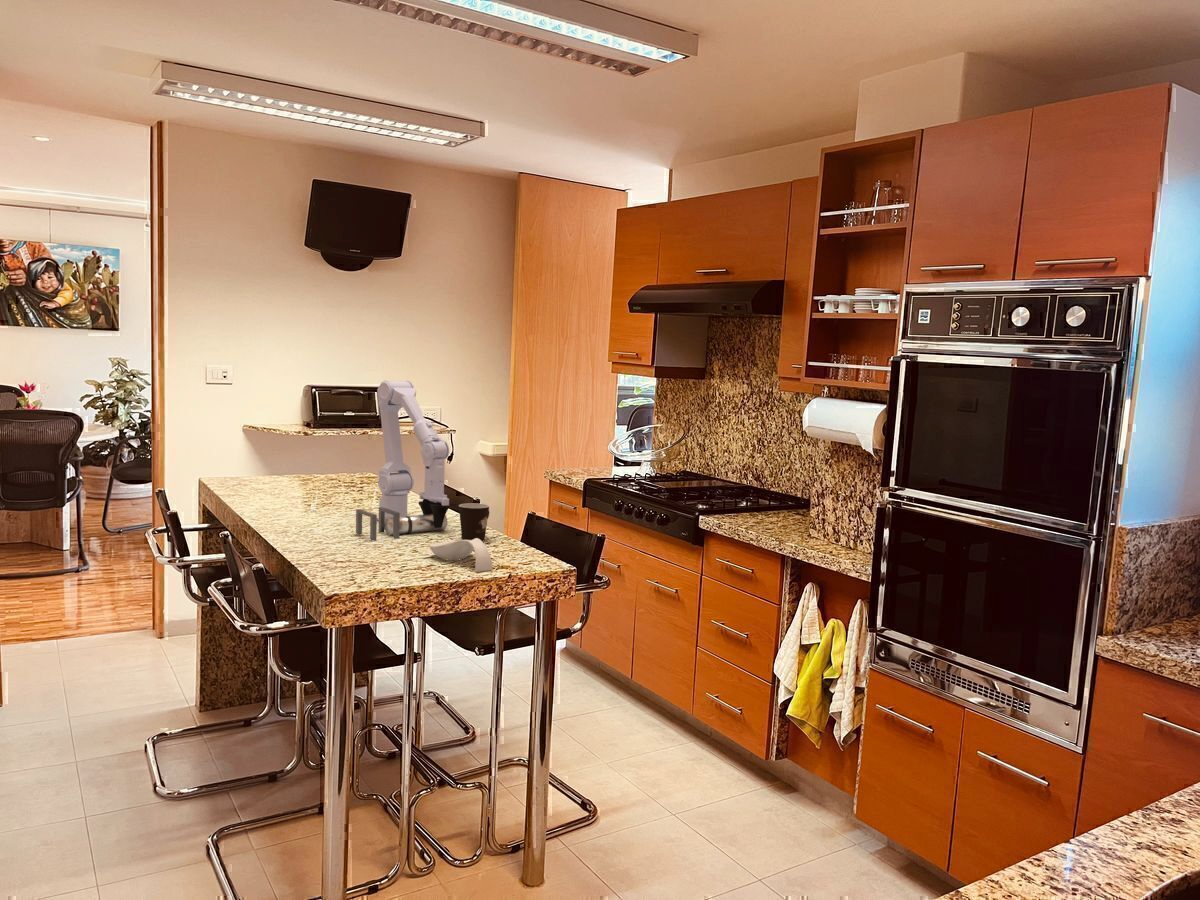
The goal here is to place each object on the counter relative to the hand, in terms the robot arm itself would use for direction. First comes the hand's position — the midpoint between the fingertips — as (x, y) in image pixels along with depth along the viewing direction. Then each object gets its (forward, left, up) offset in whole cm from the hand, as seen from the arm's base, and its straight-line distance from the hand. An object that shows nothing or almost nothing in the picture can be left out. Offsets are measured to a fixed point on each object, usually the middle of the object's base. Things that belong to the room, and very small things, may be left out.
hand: (433, 526), depth 269 cm
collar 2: (0, -14, -1) cm, 15 cm away
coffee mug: (+18, +5, -2) cm, 19 cm away
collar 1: (0, -21, -1) cm, 22 cm away
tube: (0, -6, -1) cm, 6 cm away
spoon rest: (+41, -14, -2) cm, 43 cm away
